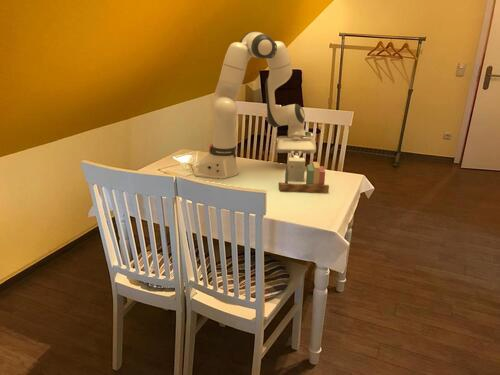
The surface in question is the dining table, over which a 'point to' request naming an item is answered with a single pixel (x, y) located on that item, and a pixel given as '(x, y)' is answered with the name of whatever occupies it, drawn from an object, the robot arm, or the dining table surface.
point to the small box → (296, 169)
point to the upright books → (315, 174)
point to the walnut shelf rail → (304, 188)
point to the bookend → (285, 176)
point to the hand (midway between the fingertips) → (296, 159)
